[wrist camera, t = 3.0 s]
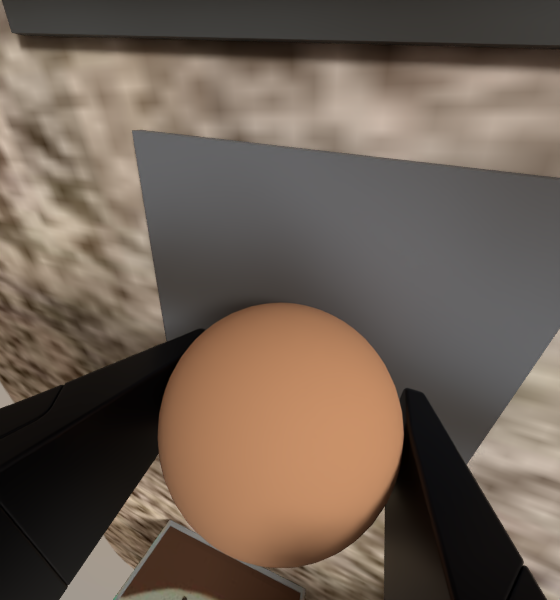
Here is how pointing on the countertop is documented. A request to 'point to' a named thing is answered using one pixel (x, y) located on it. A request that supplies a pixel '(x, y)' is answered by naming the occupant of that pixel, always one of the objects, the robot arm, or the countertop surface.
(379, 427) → the ball
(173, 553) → the food container
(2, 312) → the countertop surface
